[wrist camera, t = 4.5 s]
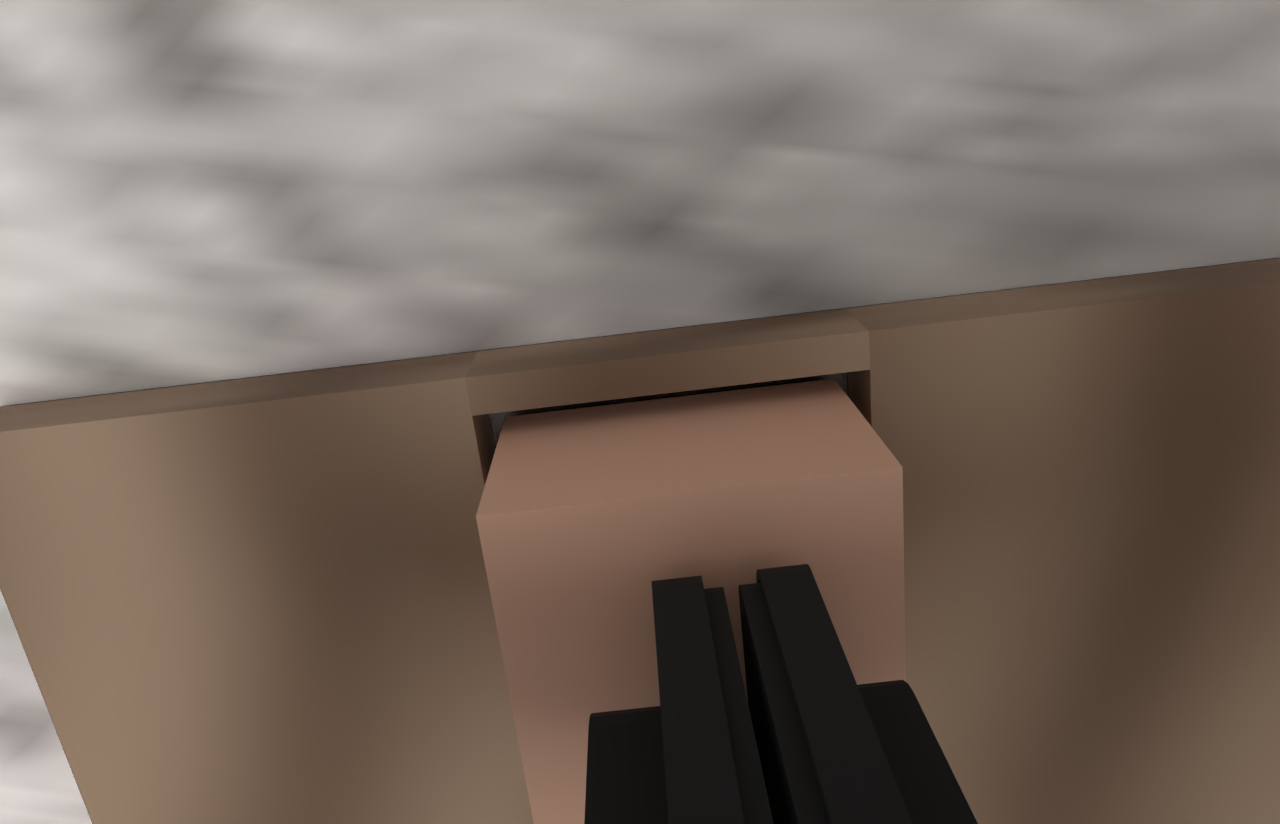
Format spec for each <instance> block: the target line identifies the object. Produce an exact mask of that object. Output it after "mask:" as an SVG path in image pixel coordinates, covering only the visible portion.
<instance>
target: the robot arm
mask: <svg viewBox="0 0 1280 824" xmlns="http://www.w3.org/2000/svg"><path fill="white" fill-rule="evenodd" d="M652 596H653V610H654V624H655V639H656V653H657V667H658V681H659V695H660V706H654V707H645V708H636V709H626V710H617V711H608V712H598V713H591V715H590V717H589V728H588V751H587V774H586V798H585V821H584V824H978V823H977V821H976V819H975V817H974V815H973V813H972V811H971V808H970V806H969V804H968V802H967V800H966V798H965V796H964V794H963V792H962V790H961V788H960V786H959V784H958V782H957V780H956V778H955V776H954V774H953V772H952V770H951V768H950V765H949V763H948V761H947V759H946V757H945V755H944V753H943V751H942V749H941V747H940V745H939V743H938V741H937V739H936V737H935V735H934V733H933V731H932V729H931V727H930V725H929V722H928V720H927V718H926V716H925V714H924V712H923V710H922V708H921V706H920V704H919V702H918V700H917V698H916V696H915V694H914V692H913V690H912V689H911V687H910V685H909V684H908V683H907V682H906V681H904V680H896V681H886V682H877V683H868V684H858V685H857V683H856V681H855V678H854V676H853V673H852V671H851V668H850V666H849V663H848V661H847V658H846V656H845V653H844V651H843V648H842V646H841V643H840V641H839V638H838V636H837V633H836V631H835V628H834V626H833V623H832V621H831V618H830V616H829V613H828V611H827V608H826V606H825V603H824V601H823V598H822V596H821V593H820V591H819V588H818V586H817V583H816V581H815V578H814V576H813V573H812V571H811V568H810V566H809V565H808V564H802V565H792V566H783V567H774V568H765V569H757V572H756V583H753V584H744V585H739V603H740V615H741V626H742V638H743V650H744V662H745V673H746V685H747V696H746V691H745V687H744V682H743V677H742V673H741V668H740V663H739V658H738V654H737V649H736V644H735V640H734V635H733V630H732V626H731V621H730V616H729V611H728V607H727V602H726V597H725V593H724V588H723V587H716V588H707V589H704V586H703V581H702V576H692V577H683V578H674V579H665V580H655V581H652ZM747 697H748V701H747Z"/></svg>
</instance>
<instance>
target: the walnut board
mask: <svg viewBox="0 0 1280 824" xmlns="http://www.w3.org/2000/svg"><path fill="white" fill-rule="evenodd" d="M845 372H848V397H849V398H850V400H851V401H852V402H853V403H854V405H855V406H856V407H857V409H858V410H859V411H860V412H861V414H862V415H863V416H864V418H865V419H866V420H867V422H868V423H869V424H870V425H871V427H872V428H873V429H874V431H875V432H876V433H877V434H878V436H879V437H880V438H881V440H882V441H883V442H884V444H885V445H886V446H887V447H888V449H889V450H890V451H891V453H892V454H893V455H894V456H895V458H896V459H897V460H898V462H899V463H900V464H901V466H902V467H903V524H904V588H905V651H906V682H907V683H908V684H909V685H910V687H911V689H912V690H913V692H914V694H915V696H916V698H917V700H918V702H919V704H920V706H921V708H922V710H923V712H924V714H925V716H926V718H927V720H928V722H929V725H930V727H931V729H932V731H933V733H934V735H935V737H936V739H937V741H938V743H939V745H940V747H941V749H942V751H943V753H944V755H945V757H946V759H947V761H948V763H949V765H950V768H951V770H952V772H953V774H954V776H955V778H956V780H957V782H958V784H959V786H960V788H961V790H962V792H963V794H964V796H965V798H966V800H967V802H968V804H969V806H970V808H971V811H972V813H973V815H974V817H975V819H976V821H977V823H978V824H1280V258H1275V259H1266V260H1258V261H1249V262H1241V263H1232V264H1223V265H1215V266H1206V267H1198V268H1189V269H1180V270H1172V271H1163V272H1155V273H1146V274H1137V275H1129V276H1120V277H1112V278H1103V279H1094V280H1086V281H1077V282H1069V283H1060V284H1051V285H1043V286H1034V287H1026V288H1017V289H1008V290H1000V291H991V292H983V293H974V294H965V295H957V296H948V297H940V298H931V299H922V300H914V301H905V302H897V303H888V304H880V305H871V306H862V307H854V308H845V309H837V310H828V311H819V312H811V313H802V314H794V315H785V316H776V317H768V318H759V319H751V320H742V321H733V322H725V323H716V324H708V325H699V326H690V327H682V328H673V329H665V330H656V331H647V332H639V333H630V334H622V335H613V336H604V337H596V338H587V339H579V340H570V341H561V342H553V343H544V344H536V345H527V346H518V347H510V348H501V349H493V350H484V351H475V352H467V353H458V354H450V355H441V356H432V357H424V358H415V359H407V360H398V361H390V362H381V363H372V364H364V365H355V366H347V367H338V368H329V369H321V370H312V371H304V372H295V373H286V374H278V375H269V376H261V377H252V378H243V379H235V380H226V381H218V382H209V383H200V384H192V385H183V386H175V387H166V388H157V389H149V390H140V391H132V392H123V393H114V394H106V395H97V396H89V397H80V398H71V399H63V400H54V401H46V402H37V403H28V404H20V405H11V406H3V407H0V589H1V592H2V594H3V597H4V599H5V602H6V604H7V607H8V609H9V612H10V615H11V617H12V620H13V622H14V625H15V627H16V630H17V632H18V635H19V638H20V640H21V643H22V645H23V648H24V650H25V653H26V655H27V658H28V660H29V663H30V666H31V668H32V671H33V673H34V676H35V678H36V681H37V683H38V686H39V689H40V691H41V694H42V696H43V699H44V701H45V704H46V706H47V709H48V712H49V714H50V717H51V719H52V722H53V724H54V727H55V729H56V732H57V734H58V737H59V740H60V742H61V745H62V747H63V750H64V752H65V755H66V757H67V760H68V763H69V765H70V768H71V770H72V773H73V775H74V778H75V780H76V783H77V786H78V788H79V791H80V793H81V796H82V798H83V801H84V803H85V806H86V808H87V811H88V814H89V816H90V819H91V821H92V824H534V823H533V818H532V812H531V807H530V802H529V796H528V791H527V786H526V780H525V775H524V770H523V764H522V759H521V754H520V749H519V743H518V738H517V733H516V727H515V722H514V717H513V711H512V706H511V701H510V695H509V690H508V685H507V680H506V674H505V669H504V664H503V658H502V653H501V648H500V642H499V637H498V632H497V627H496V621H495V616H494V611H493V605H492V600H491V595H490V589H489V584H488V579H487V573H486V568H485V563H484V558H483V552H482V547H481V542H480V536H479V531H478V526H477V520H476V514H477V510H478V507H479V504H480V500H481V497H482V494H483V490H484V487H485V483H486V480H487V477H488V473H489V470H490V467H491V463H492V460H493V456H494V453H495V447H494V441H493V436H492V430H491V424H490V419H489V414H492V413H501V412H509V411H518V410H527V409H535V408H544V407H553V406H561V405H570V404H578V403H587V402H596V401H604V400H613V399H621V398H630V397H639V396H647V395H656V394H664V393H673V392H682V391H690V390H699V389H708V388H716V387H725V386H733V385H742V384H751V383H759V382H768V381H776V380H785V379H794V378H802V377H811V376H820V375H828V374H837V373H845Z"/></svg>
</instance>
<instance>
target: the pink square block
mask: <svg viewBox="0 0 1280 824" xmlns="http://www.w3.org/2000/svg"><path fill="white" fill-rule="evenodd" d="M476 520H477V526H478V531H479V536H480V542H481V547H482V552H483V558H484V563H485V568H486V573H487V579H488V584H489V589H490V595H491V600H492V605H493V611H494V616H495V621H496V627H497V632H498V637H499V642H500V648H501V653H502V658H503V664H504V669H505V674H506V680H507V685H508V690H509V695H510V701H511V706H512V711H513V717H514V722H515V727H516V733H517V738H518V743H519V749H520V754H521V759H522V764H523V770H524V775H525V780H526V786H527V791H528V796H529V802H530V807H531V812H532V818H533V823H534V824H584V821H585V798H586V774H587V751H588V728H589V717H590V715H591V713H598V712H608V711H617V710H626V709H636V708H645V707H654V706H660V695H659V681H658V667H657V653H656V639H655V624H654V610H653V596H652V581H655V580H665V579H674V578H683V577H692V576H702V581H703V586H704V589H707V588H716V587H723V588H724V593H725V597H726V602H727V607H728V611H729V616H730V621H731V626H732V630H733V635H734V640H735V644H736V649H737V654H738V658H739V663H740V668H741V673H742V677H743V682H744V687H745V691H746V696H747V685H746V673H745V662H744V650H743V638H742V626H741V615H740V603H739V585H744V584H753V583H756V572H757V569H765V568H774V567H783V566H792V565H802V564H808V565H809V566H810V568H811V571H812V573H813V576H814V578H815V581H816V583H817V586H818V588H819V591H820V593H821V596H822V598H823V601H824V603H825V606H826V608H827V611H828V613H829V616H830V618H831V621H832V623H833V626H834V628H835V631H836V633H837V636H838V638H839V641H840V643H841V646H842V648H843V651H844V653H845V656H846V658H847V661H848V663H849V666H850V668H851V671H852V673H853V676H854V678H855V681H856V683H857V685H858V684H868V683H877V682H886V681H896V680H904V681H906V651H905V588H904V524H903V467H902V466H901V464H900V463H899V462H898V460H897V459H896V458H895V456H894V455H893V454H892V453H891V451H890V450H889V449H888V447H887V446H886V445H885V444H884V442H883V441H882V440H881V438H880V437H879V436H878V434H877V433H876V432H875V431H874V429H873V428H872V427H871V425H870V424H869V423H868V422H867V420H866V419H865V418H864V416H863V415H862V414H861V412H860V411H859V410H858V409H857V407H856V406H855V405H854V403H853V402H852V401H851V400H850V398H849V397H848V396H847V394H846V393H845V392H844V390H843V389H842V388H841V387H840V385H839V384H838V383H837V381H836V380H835V379H827V380H818V381H810V382H801V383H793V384H784V385H775V386H767V387H758V388H750V389H741V390H732V391H724V392H715V393H706V394H698V395H689V396H681V397H672V398H663V399H655V400H646V401H638V402H629V403H620V404H612V405H603V406H594V407H586V408H577V409H569V410H560V411H551V412H543V413H534V414H526V415H517V416H508V417H505V419H504V423H503V426H502V429H501V433H500V436H499V439H498V443H497V446H496V450H495V453H494V456H493V460H492V463H491V467H490V470H489V473H488V477H487V480H486V483H485V487H484V490H483V494H482V497H481V500H480V504H479V507H478V510H477V514H476ZM747 701H748V697H747Z"/></svg>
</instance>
